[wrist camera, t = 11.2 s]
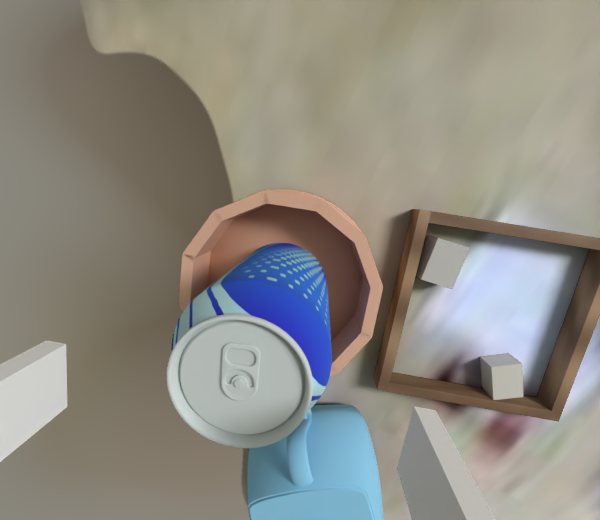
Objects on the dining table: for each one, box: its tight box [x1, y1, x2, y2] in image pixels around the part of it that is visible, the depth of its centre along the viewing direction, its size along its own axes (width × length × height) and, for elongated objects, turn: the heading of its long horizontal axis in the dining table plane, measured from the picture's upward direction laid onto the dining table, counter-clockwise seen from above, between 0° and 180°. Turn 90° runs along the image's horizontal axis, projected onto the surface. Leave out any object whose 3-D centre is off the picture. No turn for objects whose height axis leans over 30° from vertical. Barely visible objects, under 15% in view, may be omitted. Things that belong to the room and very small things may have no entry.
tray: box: [374, 209, 600, 421], centre depth 28 cm, size 18×18×2 cm
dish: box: [179, 189, 383, 376], centre depth 27 cm, size 18×18×5 cm
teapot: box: [247, 404, 383, 520], centre depth 27 cm, size 12×18×12 cm
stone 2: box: [480, 353, 523, 400], centre depth 29 cm, size 4×3×2 cm
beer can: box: [166, 243, 332, 448], centre depth 20 cm, size 8×8×16 cm
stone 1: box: [416, 235, 470, 289], centre depth 27 cm, size 4×3×2 cm
